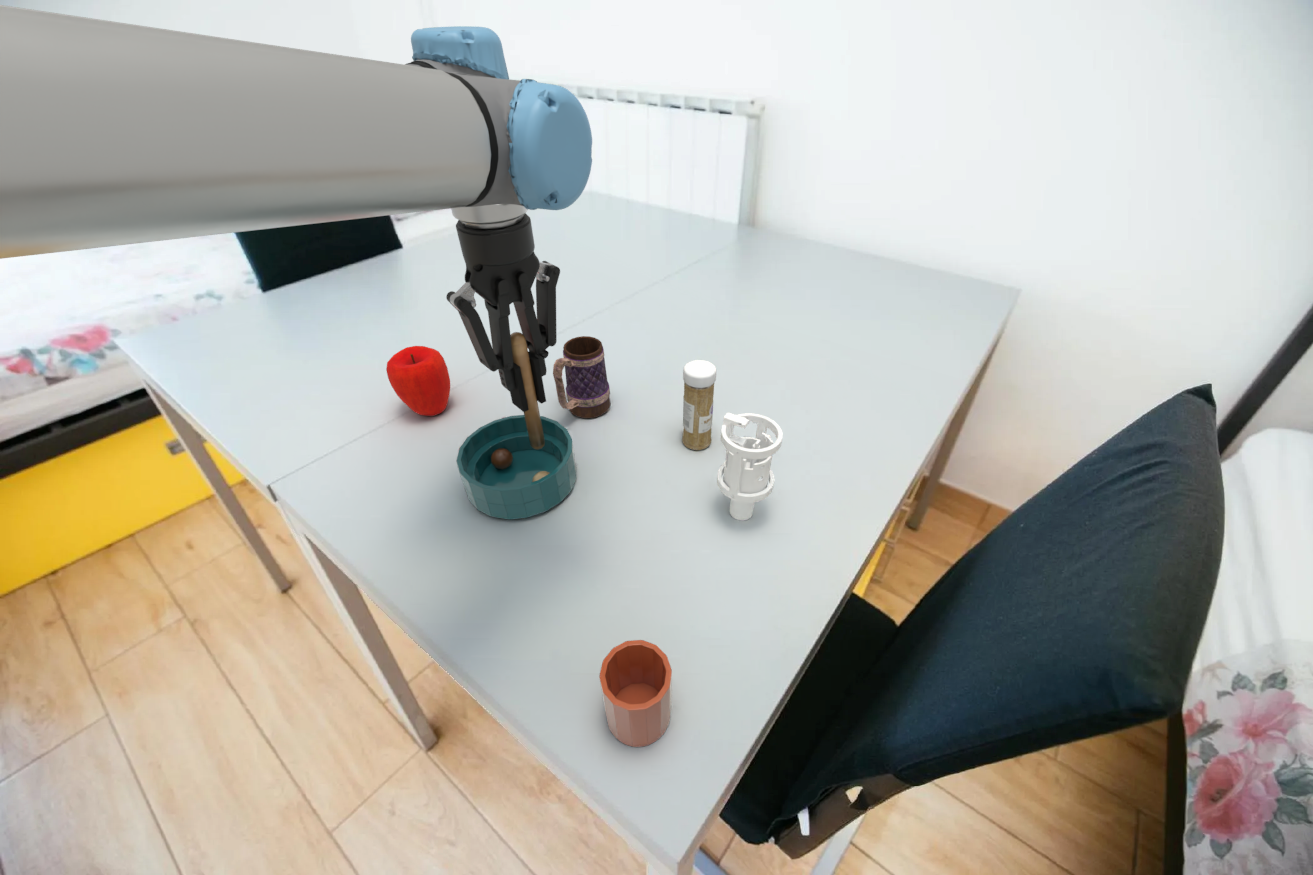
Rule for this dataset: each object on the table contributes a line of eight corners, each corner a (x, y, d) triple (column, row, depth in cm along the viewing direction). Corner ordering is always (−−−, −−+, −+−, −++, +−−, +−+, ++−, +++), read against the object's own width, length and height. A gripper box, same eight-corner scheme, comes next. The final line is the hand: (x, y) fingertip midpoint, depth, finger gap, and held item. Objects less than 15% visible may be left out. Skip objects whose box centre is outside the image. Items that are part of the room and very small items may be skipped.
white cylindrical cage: (729, 485, 75) (739, 398, 66) (776, 505, 72) (793, 418, 63) (704, 517, 71) (711, 429, 61) (753, 540, 68) (768, 452, 58)
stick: (537, 454, 74) (514, 339, 63) (528, 448, 75) (503, 333, 64) (548, 447, 75) (527, 332, 64) (539, 441, 76) (517, 327, 65)
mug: (587, 389, 93) (579, 327, 86) (619, 403, 90) (615, 340, 83) (546, 420, 87) (534, 356, 79) (579, 436, 84) (571, 371, 76)
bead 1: (503, 476, 77) (492, 466, 75) (494, 464, 79) (483, 453, 77) (519, 463, 78) (509, 452, 75) (510, 451, 79) (500, 440, 77)
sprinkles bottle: (712, 451, 81) (718, 376, 72) (682, 451, 81) (684, 377, 72) (709, 431, 84) (714, 358, 76) (680, 432, 84) (682, 358, 76)
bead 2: (533, 497, 72) (541, 481, 71) (525, 482, 74) (533, 465, 73) (552, 497, 74) (561, 481, 73) (544, 482, 76) (553, 467, 75)
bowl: (503, 541, 68) (494, 509, 65) (448, 479, 77) (436, 448, 73) (598, 482, 76) (594, 450, 72) (538, 432, 85) (532, 401, 81)
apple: (399, 403, 91) (376, 347, 84) (451, 388, 94) (434, 333, 87) (408, 432, 85) (385, 375, 78) (464, 415, 88) (446, 358, 81)
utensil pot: (636, 763, 49) (632, 726, 44) (593, 710, 52) (585, 670, 47) (684, 714, 52) (686, 675, 47) (640, 667, 56) (638, 626, 50)
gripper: (440, 245, 49) (492, 441, 64) (573, 208, 57) (592, 391, 72) (405, 225, 53) (462, 413, 69) (534, 193, 61) (560, 369, 76)
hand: (529, 402), depth 70 cm, fingers closed on stick, 2 cm apart
